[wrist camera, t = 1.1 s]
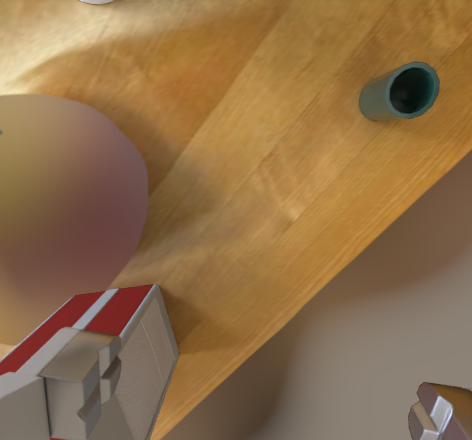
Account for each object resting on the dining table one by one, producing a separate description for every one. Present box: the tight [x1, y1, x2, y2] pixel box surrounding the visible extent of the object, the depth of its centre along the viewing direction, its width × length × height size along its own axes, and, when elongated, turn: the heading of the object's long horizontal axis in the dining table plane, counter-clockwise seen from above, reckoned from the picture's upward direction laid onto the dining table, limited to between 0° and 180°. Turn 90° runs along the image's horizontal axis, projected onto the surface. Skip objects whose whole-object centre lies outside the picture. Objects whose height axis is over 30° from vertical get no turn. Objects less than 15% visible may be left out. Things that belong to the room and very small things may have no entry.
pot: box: [359, 62, 440, 121], centre depth 35 cm, size 6×6×8 cm
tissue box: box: [0, 284, 180, 440], centre depth 41 cm, size 17×18×27 cm
